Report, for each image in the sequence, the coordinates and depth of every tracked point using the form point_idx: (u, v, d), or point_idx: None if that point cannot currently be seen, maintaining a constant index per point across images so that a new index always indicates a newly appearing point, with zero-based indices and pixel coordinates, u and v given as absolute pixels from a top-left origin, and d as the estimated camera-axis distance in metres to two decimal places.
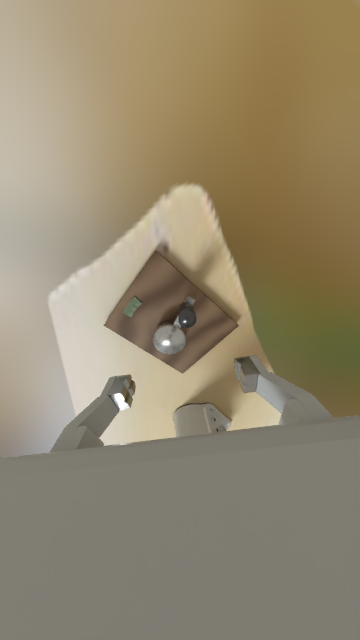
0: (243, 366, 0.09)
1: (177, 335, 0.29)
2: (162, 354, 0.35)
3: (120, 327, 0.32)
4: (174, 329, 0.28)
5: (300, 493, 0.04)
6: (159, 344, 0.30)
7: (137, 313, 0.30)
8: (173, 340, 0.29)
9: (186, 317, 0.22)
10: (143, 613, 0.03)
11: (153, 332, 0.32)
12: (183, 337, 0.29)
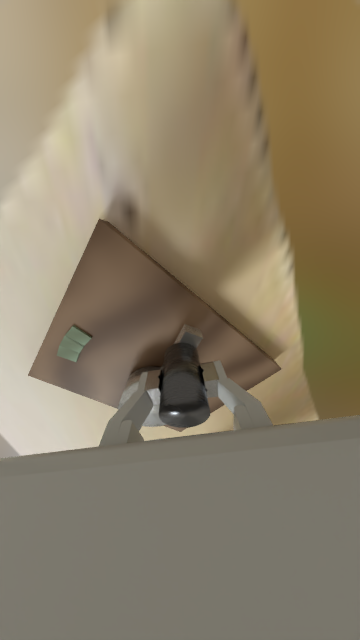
0: (205, 372, 0.09)
1: None
2: None
3: (60, 378, 0.17)
4: None
5: (300, 493, 0.04)
6: None
7: (87, 355, 0.15)
8: (159, 408, 0.15)
9: (181, 410, 0.08)
10: (143, 613, 0.03)
11: (124, 383, 0.18)
12: None
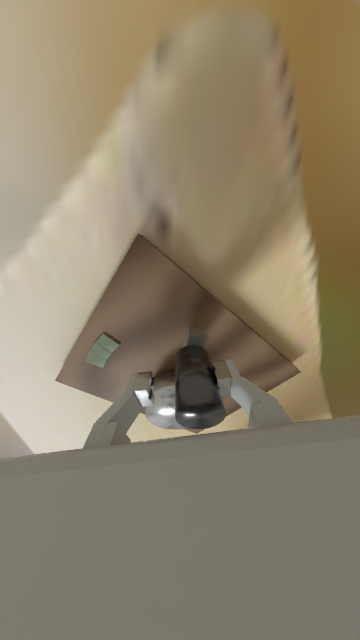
0: (217, 370, 0.09)
1: None
2: None
3: (86, 383, 0.17)
4: None
5: (300, 493, 0.04)
6: (161, 420, 0.16)
7: (113, 361, 0.16)
8: None
9: (195, 412, 0.08)
10: (143, 613, 0.03)
11: None
12: None
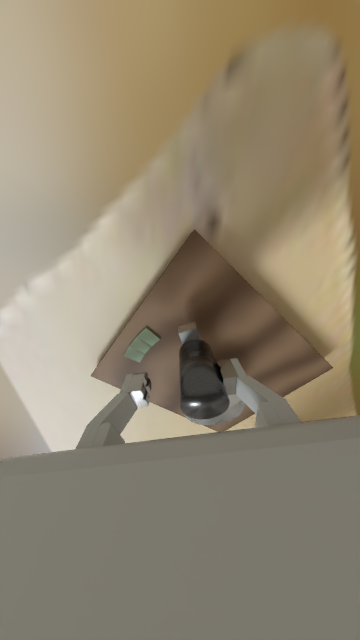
0: (223, 369, 0.09)
1: None
2: None
3: (120, 378, 0.18)
4: None
5: (299, 493, 0.04)
6: (203, 418, 0.16)
7: (150, 355, 0.16)
8: None
9: (197, 403, 0.08)
10: (143, 613, 0.03)
11: (179, 383, 0.18)
12: None
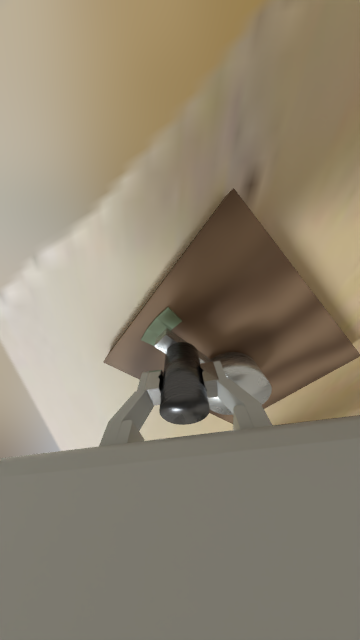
0: (205, 372, 0.09)
1: None
2: None
3: (135, 365, 0.16)
4: None
5: (300, 493, 0.04)
6: None
7: None
8: None
9: (176, 411, 0.08)
10: (143, 613, 0.03)
11: None
12: (243, 375, 0.13)
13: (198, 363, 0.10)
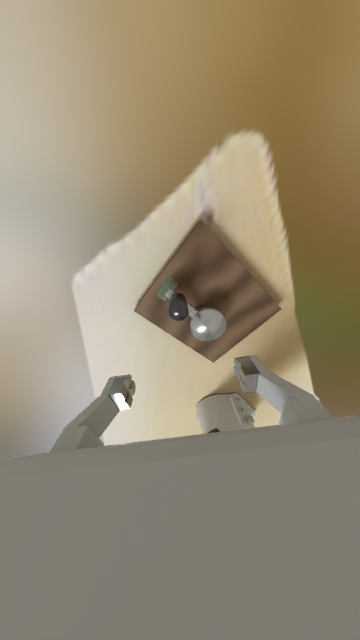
0: (243, 366, 0.09)
1: (203, 317, 0.26)
2: (194, 342, 0.33)
3: (151, 313, 0.29)
4: (196, 318, 0.26)
5: (300, 493, 0.04)
6: (208, 336, 0.28)
7: None
8: (209, 322, 0.26)
9: (175, 312, 0.20)
10: (143, 613, 0.03)
11: (187, 318, 0.29)
12: (209, 312, 0.25)
13: (185, 299, 0.23)
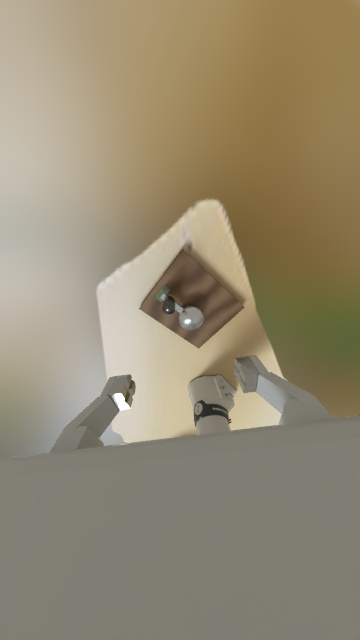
0: (243, 366, 0.09)
1: (187, 313, 0.37)
2: (183, 332, 0.44)
3: (151, 310, 0.40)
4: (182, 313, 0.37)
5: (300, 493, 0.04)
6: (191, 326, 0.39)
7: None
8: (191, 316, 0.38)
9: (166, 308, 0.32)
10: (143, 613, 0.03)
11: (177, 313, 0.41)
12: (191, 309, 0.37)
13: (173, 300, 0.34)
